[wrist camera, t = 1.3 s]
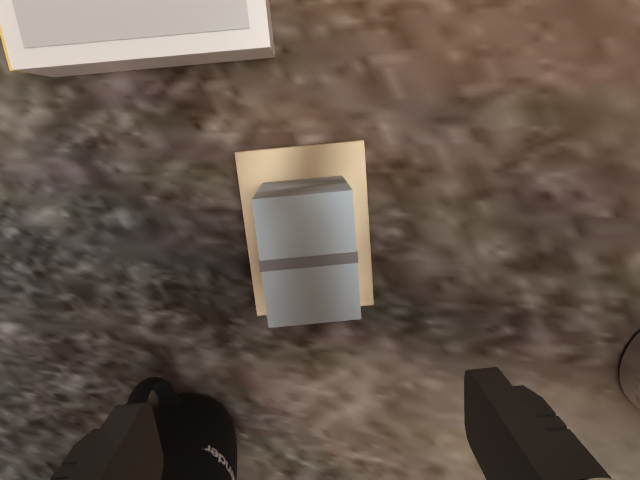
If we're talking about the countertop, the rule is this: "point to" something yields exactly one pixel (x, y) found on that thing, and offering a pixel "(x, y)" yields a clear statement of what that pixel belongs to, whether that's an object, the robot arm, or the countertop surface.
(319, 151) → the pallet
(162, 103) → the countertop surface
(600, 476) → the robot arm
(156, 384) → the mug
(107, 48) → the dock
